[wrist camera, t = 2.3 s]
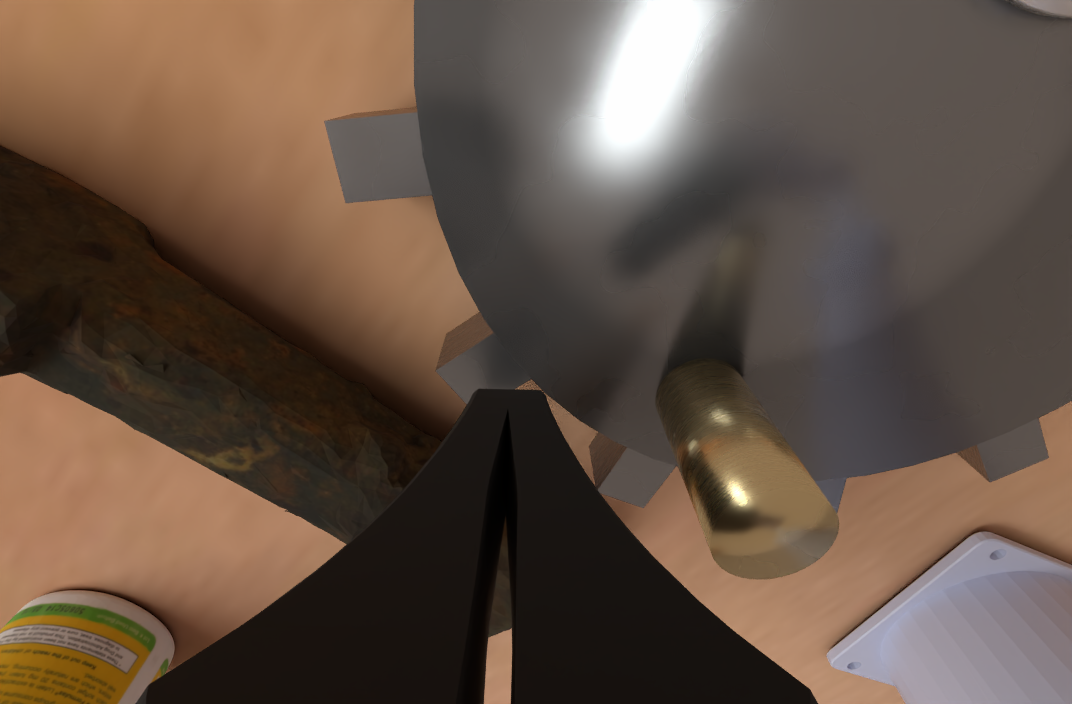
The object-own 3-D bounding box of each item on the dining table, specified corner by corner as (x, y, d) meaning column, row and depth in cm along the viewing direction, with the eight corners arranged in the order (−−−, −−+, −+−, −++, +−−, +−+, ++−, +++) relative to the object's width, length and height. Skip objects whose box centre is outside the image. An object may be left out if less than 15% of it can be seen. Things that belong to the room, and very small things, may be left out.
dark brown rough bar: (572, 487, 17) (588, 621, 13) (488, 548, 18) (478, 688, 14) (-81, -22, 10) (-495, -87, 6) (-140, 133, 11) (-513, 167, 7)
